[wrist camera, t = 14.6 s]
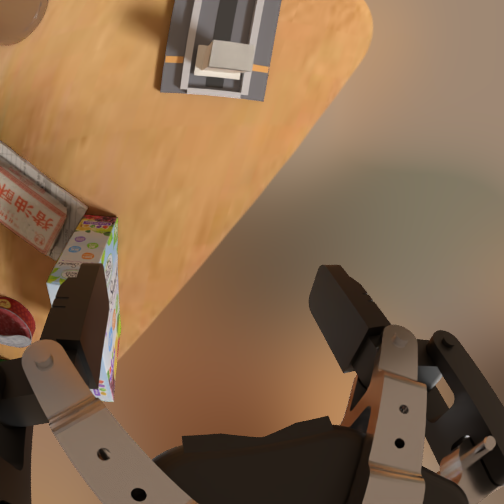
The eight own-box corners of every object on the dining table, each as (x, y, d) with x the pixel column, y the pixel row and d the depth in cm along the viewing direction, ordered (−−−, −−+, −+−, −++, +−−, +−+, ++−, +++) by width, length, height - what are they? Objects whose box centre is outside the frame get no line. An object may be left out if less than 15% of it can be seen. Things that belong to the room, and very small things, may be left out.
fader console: (160, 92, 30) (159, 92, 28) (188, -52, 20) (189, -59, 18) (261, 100, 33) (265, 102, 32) (286, -37, 23) (291, -42, 22)
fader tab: (193, 75, 29) (198, 72, 21) (198, 45, 27) (205, 32, 19) (237, 79, 30) (258, 79, 22) (242, 50, 28) (265, 41, 20)
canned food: (37, 293, 45) (47, 335, 39) (25, 327, 46) (35, 369, 41) (-16, 282, 35) (-14, 328, 30) (-23, 321, 37) (-18, 365, 32)
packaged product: (-43, 205, 25) (-22, 142, 22) (-26, 191, 29) (-3, 134, 26) (50, 275, 34) (81, 221, 32) (59, 256, 38) (90, 205, 36)
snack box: (80, 212, 35) (42, 281, 23) (119, 215, 37) (96, 286, 25) (92, 327, 46) (79, 401, 33) (123, 329, 47) (117, 405, 35)
